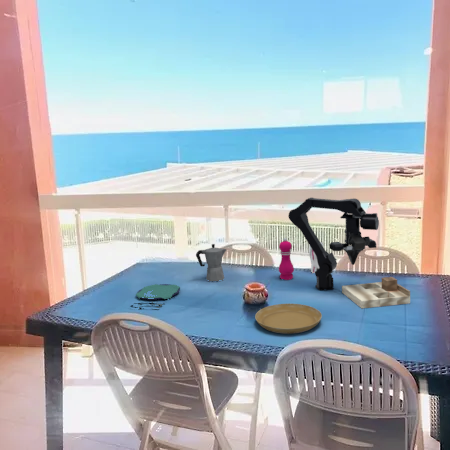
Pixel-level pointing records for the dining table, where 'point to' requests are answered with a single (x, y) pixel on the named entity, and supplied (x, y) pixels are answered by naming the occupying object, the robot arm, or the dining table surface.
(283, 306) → the plant saucer
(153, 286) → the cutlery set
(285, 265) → the pepper mill
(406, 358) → the dining table surface
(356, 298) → the beige sorting tray
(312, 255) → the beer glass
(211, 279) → the coffeepot
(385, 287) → the walnut block
